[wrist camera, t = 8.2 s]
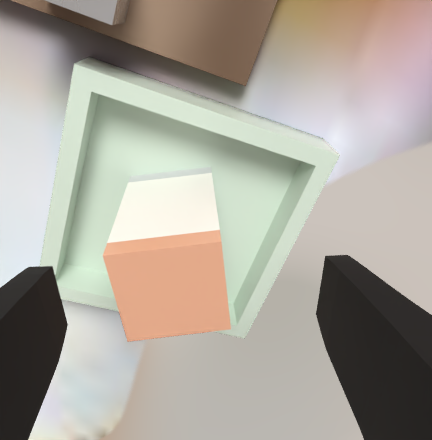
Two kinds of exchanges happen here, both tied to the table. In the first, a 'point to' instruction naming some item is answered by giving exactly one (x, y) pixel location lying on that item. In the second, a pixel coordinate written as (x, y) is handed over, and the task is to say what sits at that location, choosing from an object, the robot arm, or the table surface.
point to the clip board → (177, 28)
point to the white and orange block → (168, 256)
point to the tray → (174, 161)
